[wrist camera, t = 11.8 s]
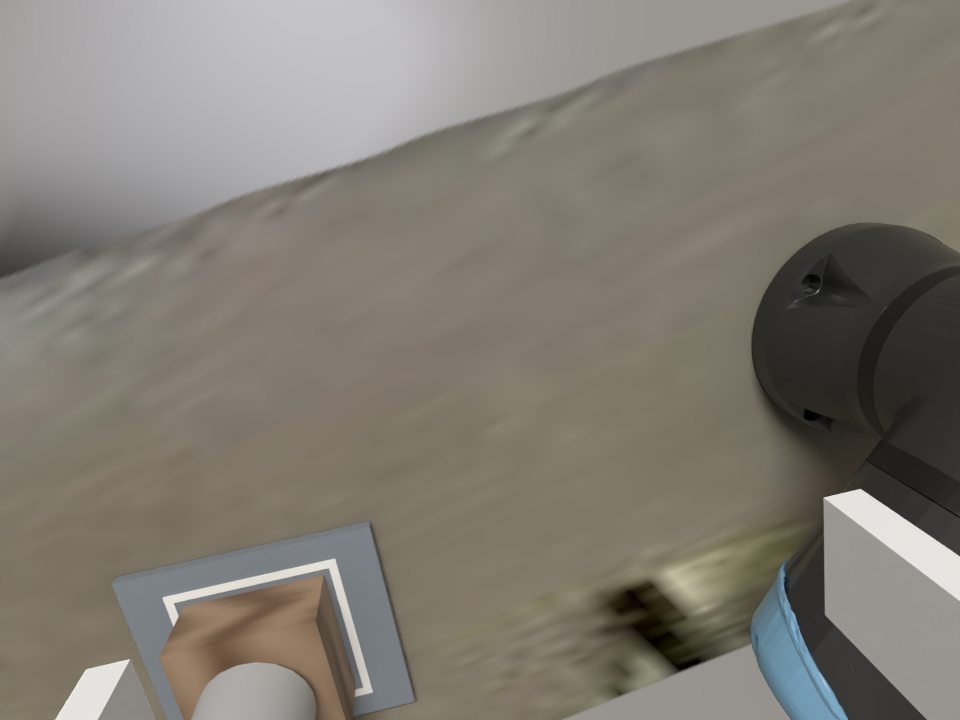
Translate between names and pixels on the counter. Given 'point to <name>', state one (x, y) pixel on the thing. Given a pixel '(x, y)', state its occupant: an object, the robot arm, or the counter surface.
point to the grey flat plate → (331, 553)
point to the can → (256, 695)
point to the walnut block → (263, 644)
